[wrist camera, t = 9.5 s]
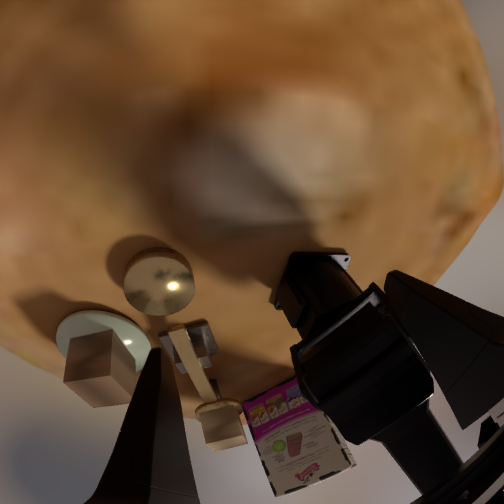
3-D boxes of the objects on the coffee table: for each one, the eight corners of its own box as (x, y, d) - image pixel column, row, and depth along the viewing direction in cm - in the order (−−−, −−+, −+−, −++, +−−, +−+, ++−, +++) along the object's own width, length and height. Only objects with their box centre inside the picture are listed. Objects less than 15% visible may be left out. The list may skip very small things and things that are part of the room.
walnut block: (113, 328, 22) (110, 375, 18) (135, 359, 25) (137, 402, 21) (70, 338, 21) (63, 382, 17) (95, 367, 24) (93, 407, 20)
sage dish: (148, 308, 23) (148, 316, 22) (153, 370, 28) (154, 377, 27) (46, 304, 20) (43, 312, 19) (71, 367, 25) (70, 374, 24)
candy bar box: (255, 409, 41) (287, 495, 28) (239, 403, 38) (272, 498, 25) (314, 378, 40) (358, 465, 27) (304, 369, 37) (352, 467, 24)
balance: (114, 259, 20) (106, 302, 16) (182, 239, 20) (187, 279, 17) (196, 395, 34) (203, 426, 30) (236, 385, 34) (246, 415, 31)
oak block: (232, 404, 28) (242, 435, 25) (239, 415, 30) (248, 443, 27) (198, 412, 27) (206, 443, 24) (208, 423, 30) (215, 451, 26)
